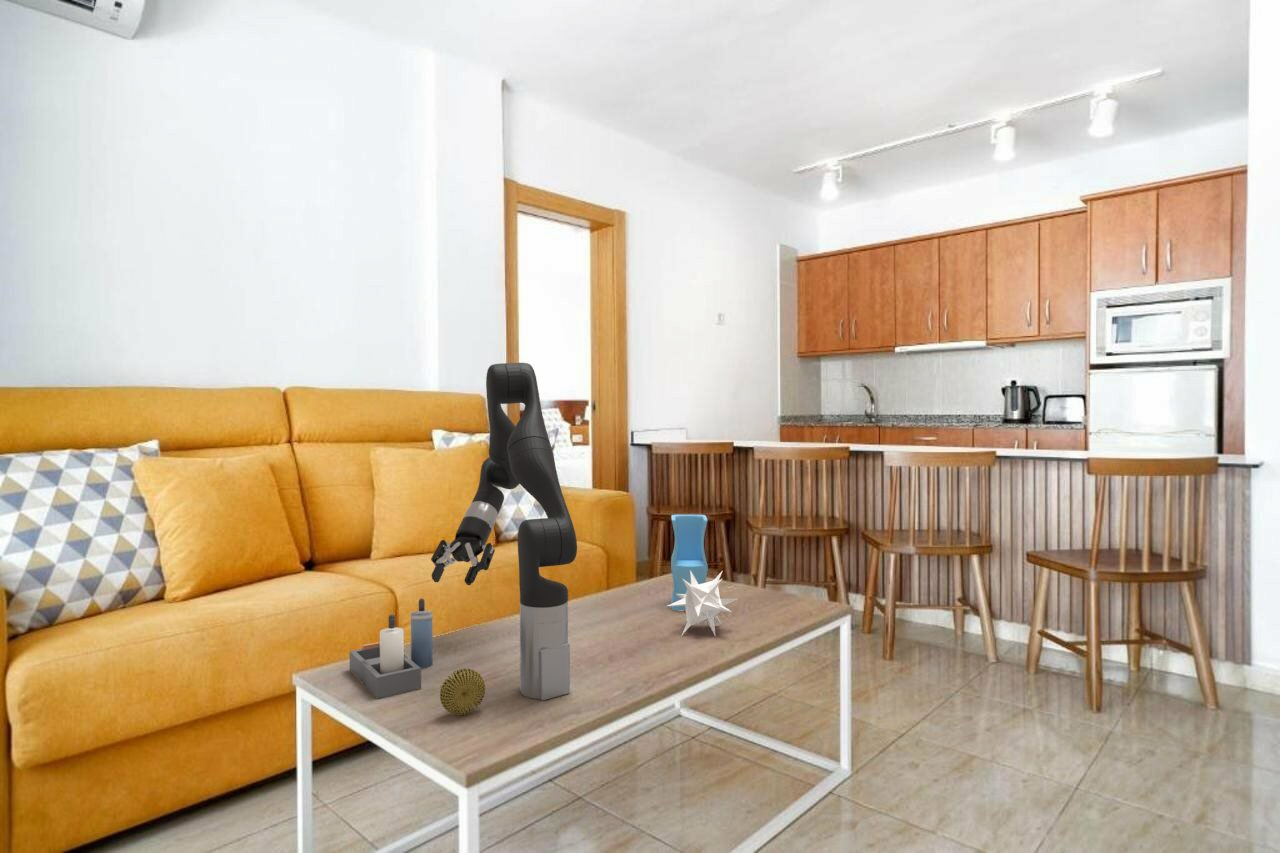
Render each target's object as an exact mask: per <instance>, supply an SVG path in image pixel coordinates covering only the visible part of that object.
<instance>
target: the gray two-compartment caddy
mask: <svg viewBox="0 0 1280 853" xmlns="http://www.w3.org/2000/svg"><path fill="white" fill-rule="evenodd" d="M387 619H388V627H387V628H383V629H381V630H380V631H379V641H376V642H371V643H365V644H362V648H358V649H353V650H349V671H350V672H351V673H352V674H353V675H354V676H355V678H356V679H358V681H359V682H361V684H362V685H363V686H364V687H365V688H366V689H367V690H368V691H369V692H370V693H371V694H372V695H373V697H374V698H375V699H376V700H379V699H381V698H386V697H391V696H395V695H398V694H404V693H407V692H412V691H417V690H421V689H422V668H420V667H419V666H418V665H417V664H415V663H414V662H413V661H412V660H411V658H409V657H408V656H407V655H405V653H404V652H405V651H404V650H405V646H404V644H405V643H404V641H405V640H404V638H405V637H404V635H405V634H404V631H405V630H404V628H403V627H396V615H395V614H393V613H391V614H390V615H388V617H387Z"/></svg>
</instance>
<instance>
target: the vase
mask: <svg viewBox="0 0 1280 853" xmlns="http://www.w3.org/2000/svg"><path fill="white" fill-rule="evenodd" d="M671 524H672V528H673V534H674V546H673V550H672V554H671V557H670V564H671V565H670V566H671V568H670V569H671V575H672V580H673V581H672V582H673V587H672V596H671V600H670V604H672V603H674V602H677V601H679V600H681V599H682V598H681V597H679V596H678V595H676V594H686V592H687V587H686V585H685V583H684V581H683V579H684V580H685V581H687V582H688V583H690V584H691V574H690V570H691V572H692V574H693V575H694V577H695V579H696V581H697V583H698V584H702V583H706V580H707V574H708V567H709V566H708V562H707V558H706V557H707V556H706V552H705V534H706V528H707V524H708V518H707V515H705V514H672V515H671ZM670 608H672V609H671V610H672V611H673V610H685V606H670Z"/></svg>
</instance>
